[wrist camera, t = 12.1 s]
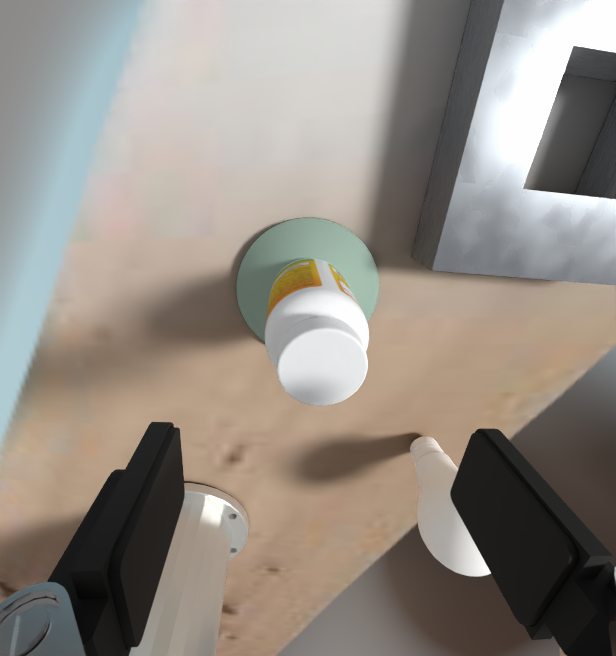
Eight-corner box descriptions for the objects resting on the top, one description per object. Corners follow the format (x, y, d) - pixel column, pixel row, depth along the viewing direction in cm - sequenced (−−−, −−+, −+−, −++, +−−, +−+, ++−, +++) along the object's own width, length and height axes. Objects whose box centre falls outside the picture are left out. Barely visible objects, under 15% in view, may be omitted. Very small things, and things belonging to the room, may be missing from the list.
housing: (591, 272, 24) (638, 287, 21) (411, 257, 22) (431, 270, 19) (733, -21, 17) (835, -64, 14) (487, -69, 16) (538, -130, 13)
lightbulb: (420, 471, 32) (481, 604, 22) (374, 448, 30) (418, 581, 20) (465, 432, 30) (553, 558, 20) (419, 404, 28) (491, 528, 18)
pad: (364, 354, 26) (365, 357, 25) (237, 347, 25) (236, 351, 24) (389, 224, 21) (392, 226, 21) (237, 210, 20) (236, 211, 20)
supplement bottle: (262, 319, 23) (247, 407, 14) (281, 246, 21) (276, 297, 12) (333, 336, 24) (359, 428, 15) (357, 268, 22) (404, 330, 13)
